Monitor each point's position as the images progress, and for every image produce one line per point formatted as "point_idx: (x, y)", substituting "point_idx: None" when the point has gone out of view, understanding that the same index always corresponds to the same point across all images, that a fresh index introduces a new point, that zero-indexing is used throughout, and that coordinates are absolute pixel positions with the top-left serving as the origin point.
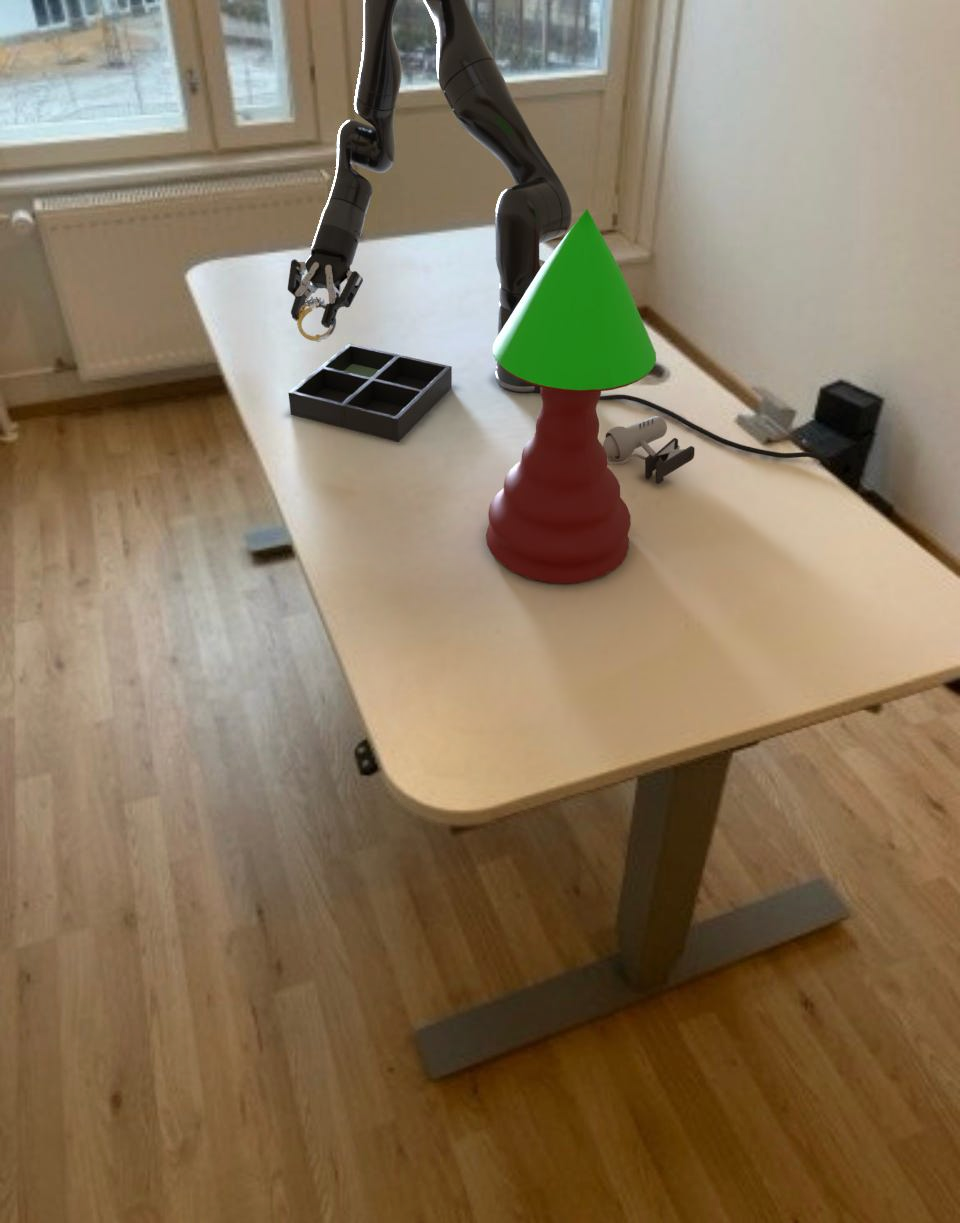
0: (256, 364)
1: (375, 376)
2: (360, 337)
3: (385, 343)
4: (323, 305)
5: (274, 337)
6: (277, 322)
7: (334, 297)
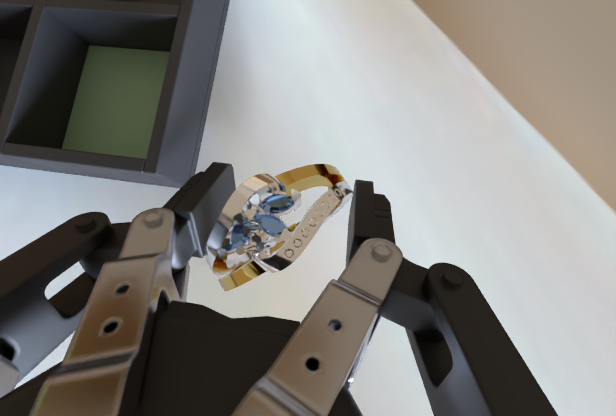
0: (428, 112)
1: (34, 15)
2: None
3: None
4: (219, 217)
5: None
6: None
7: (132, 229)
